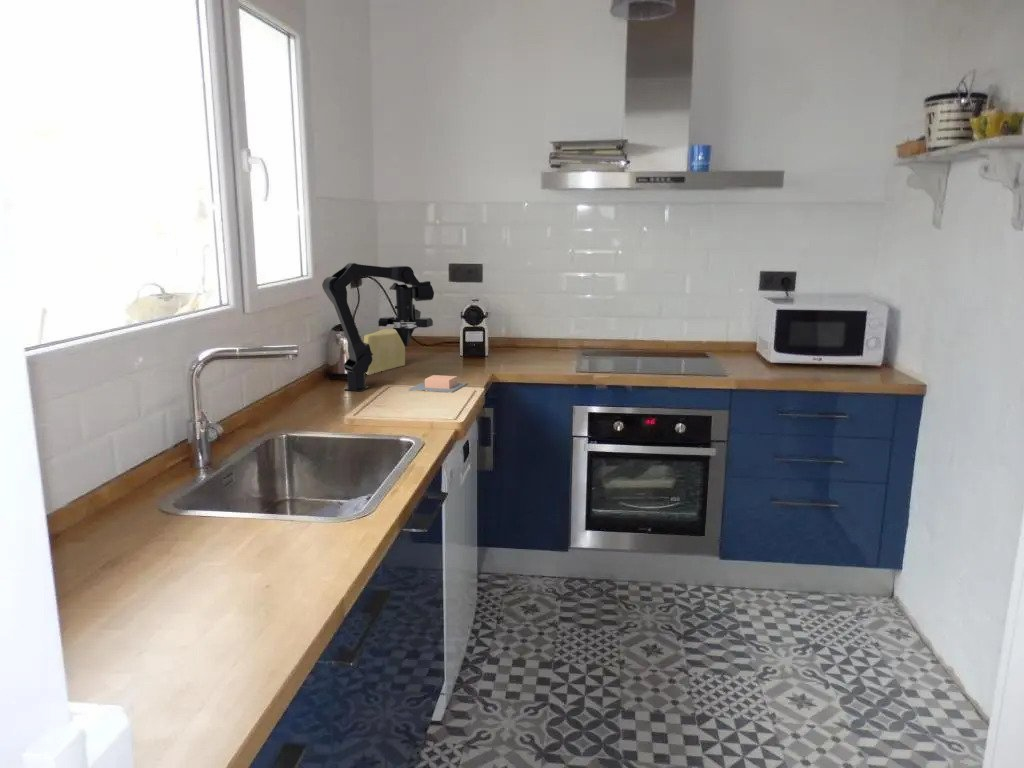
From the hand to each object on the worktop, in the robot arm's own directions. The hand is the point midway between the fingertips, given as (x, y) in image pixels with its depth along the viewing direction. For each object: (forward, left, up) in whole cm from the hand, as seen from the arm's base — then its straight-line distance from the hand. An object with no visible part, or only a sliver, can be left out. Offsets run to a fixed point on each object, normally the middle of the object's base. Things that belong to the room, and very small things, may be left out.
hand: (406, 346), depth 266 cm
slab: (-5, -10, -11) cm, 16 cm away
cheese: (+20, +21, -13) cm, 32 cm away
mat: (-5, -14, -13) cm, 20 cm away
